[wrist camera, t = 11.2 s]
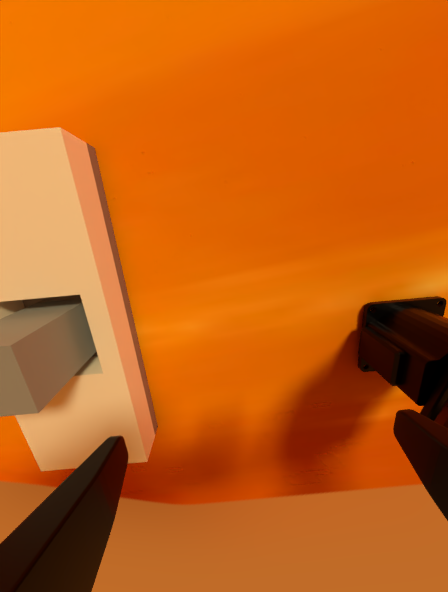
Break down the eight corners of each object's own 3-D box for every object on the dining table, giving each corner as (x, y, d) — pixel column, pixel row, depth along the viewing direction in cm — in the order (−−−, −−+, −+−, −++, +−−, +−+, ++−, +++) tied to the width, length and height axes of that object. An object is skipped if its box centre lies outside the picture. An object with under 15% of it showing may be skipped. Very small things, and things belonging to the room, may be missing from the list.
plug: (89, 298, 17) (10, 345, 11) (102, 344, 19) (38, 413, 12) (37, 302, 17) (-76, 352, 11) (53, 348, 19) (-38, 419, 12)
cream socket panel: (94, 148, 15) (60, 127, 12) (157, 426, 23) (147, 461, 19) (-41, 160, 15) (-113, 142, 12) (66, 434, 23) (41, 471, 19)
